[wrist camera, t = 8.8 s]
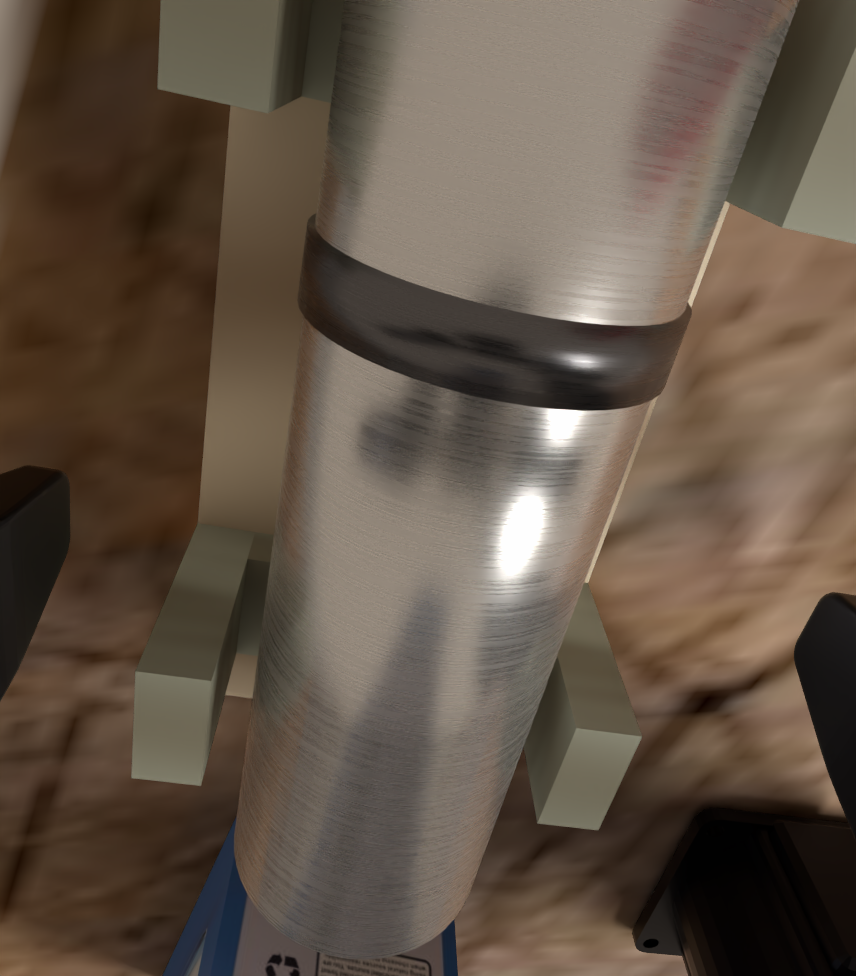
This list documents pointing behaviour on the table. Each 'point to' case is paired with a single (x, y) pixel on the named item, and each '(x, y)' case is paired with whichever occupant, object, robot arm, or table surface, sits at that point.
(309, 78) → the collar cradle
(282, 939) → the milk carton
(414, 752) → the tube
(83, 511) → the table surface
